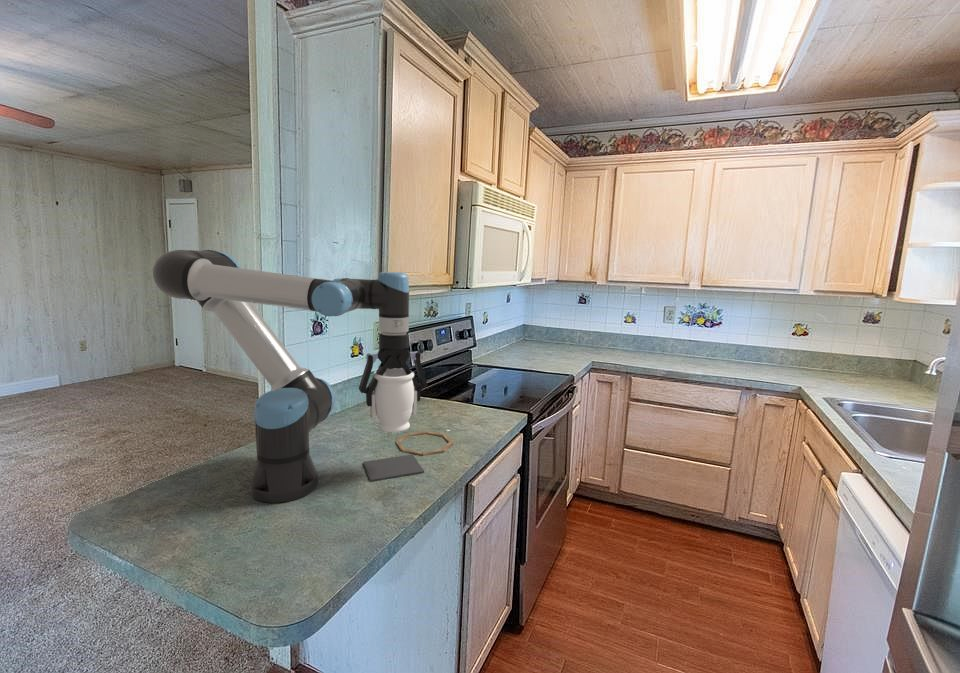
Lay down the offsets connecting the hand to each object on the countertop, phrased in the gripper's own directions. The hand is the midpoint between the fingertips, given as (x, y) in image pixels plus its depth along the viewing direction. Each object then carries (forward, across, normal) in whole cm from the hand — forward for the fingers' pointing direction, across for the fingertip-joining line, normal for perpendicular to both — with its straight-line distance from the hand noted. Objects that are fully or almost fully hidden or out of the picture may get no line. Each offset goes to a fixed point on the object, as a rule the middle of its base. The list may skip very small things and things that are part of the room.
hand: (393, 415), depth 120 cm
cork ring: (+15, +13, +13) cm, 24 cm away
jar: (+4, 0, 0) cm, 4 cm away
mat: (+15, 0, 0) cm, 15 cm away
